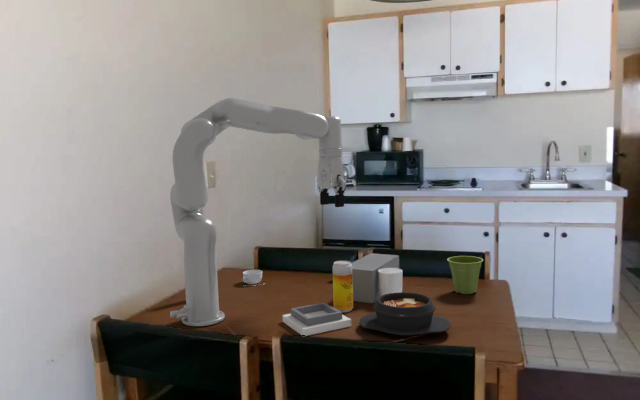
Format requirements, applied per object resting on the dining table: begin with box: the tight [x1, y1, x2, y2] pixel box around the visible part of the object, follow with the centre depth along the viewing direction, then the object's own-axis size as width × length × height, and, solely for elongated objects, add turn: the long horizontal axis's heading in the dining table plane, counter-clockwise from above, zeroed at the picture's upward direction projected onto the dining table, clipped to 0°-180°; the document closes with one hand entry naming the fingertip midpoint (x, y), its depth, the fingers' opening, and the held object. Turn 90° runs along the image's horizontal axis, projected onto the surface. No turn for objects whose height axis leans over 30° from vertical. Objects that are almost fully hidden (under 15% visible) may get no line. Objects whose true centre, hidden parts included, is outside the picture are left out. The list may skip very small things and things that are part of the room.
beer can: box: [332, 260, 354, 313], centre depth 160 cm, size 6×6×15 cm
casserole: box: [358, 291, 452, 337], centre depth 142 cm, size 25×19×8 cm
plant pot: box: [446, 255, 484, 295], centre depth 176 cm, size 12×12×11 cm
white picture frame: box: [282, 302, 352, 337], centre depth 148 cm, size 15×14×4 cm
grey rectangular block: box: [351, 252, 400, 304], centre depth 183 cm, size 25×23×11 cm
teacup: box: [242, 269, 266, 287], centre depth 196 cm, size 10×10×5 cm
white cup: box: [378, 267, 403, 296], centre depth 168 cm, size 8×8×10 cm
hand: (331, 205), depth 173 cm, fingers open, 9 cm apart
